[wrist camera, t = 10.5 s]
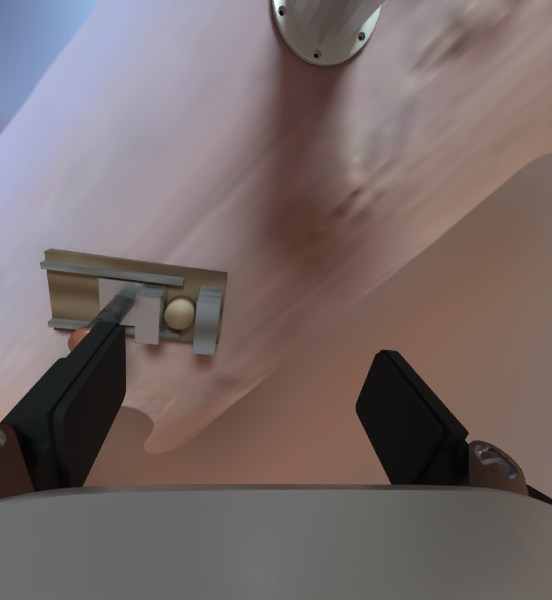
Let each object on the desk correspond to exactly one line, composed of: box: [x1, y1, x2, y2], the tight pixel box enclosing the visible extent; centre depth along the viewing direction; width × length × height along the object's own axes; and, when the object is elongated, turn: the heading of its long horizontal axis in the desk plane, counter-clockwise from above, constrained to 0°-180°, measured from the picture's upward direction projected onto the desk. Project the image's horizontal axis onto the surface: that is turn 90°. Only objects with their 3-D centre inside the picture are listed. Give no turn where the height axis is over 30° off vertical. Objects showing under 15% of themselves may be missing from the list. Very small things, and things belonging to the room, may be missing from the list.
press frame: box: [40, 249, 227, 355], centre depth 41 cm, size 12×24×8 cm, turn 79°
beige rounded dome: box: [164, 295, 196, 329], centre depth 43 cm, size 4×4×3 cm
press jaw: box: [68, 277, 167, 351], centre depth 37 cm, size 7×9×12 cm
